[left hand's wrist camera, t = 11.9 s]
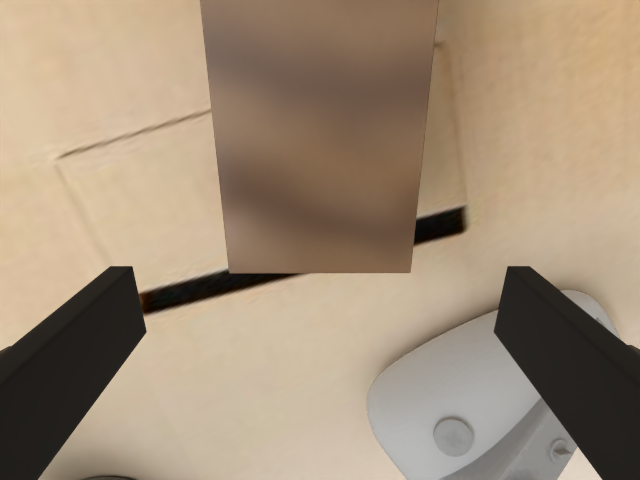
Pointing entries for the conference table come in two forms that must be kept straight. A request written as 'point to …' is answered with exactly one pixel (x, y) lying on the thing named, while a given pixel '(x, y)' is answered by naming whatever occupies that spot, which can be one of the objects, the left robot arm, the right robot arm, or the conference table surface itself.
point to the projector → (470, 409)
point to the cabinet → (319, 130)
